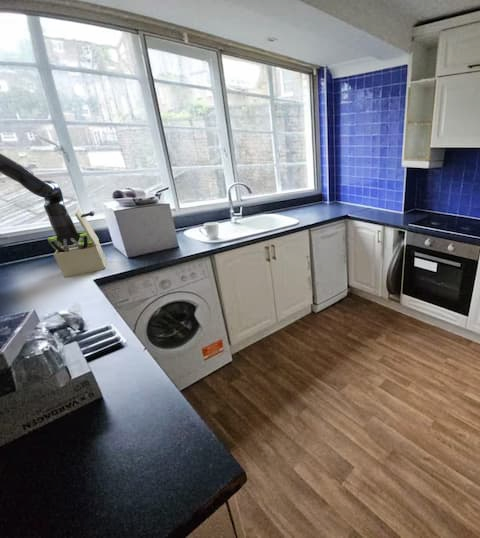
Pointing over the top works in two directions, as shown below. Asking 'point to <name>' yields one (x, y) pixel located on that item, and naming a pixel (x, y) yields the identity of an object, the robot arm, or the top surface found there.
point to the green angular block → (61, 243)
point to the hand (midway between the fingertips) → (77, 257)
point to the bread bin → (81, 260)
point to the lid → (87, 226)
